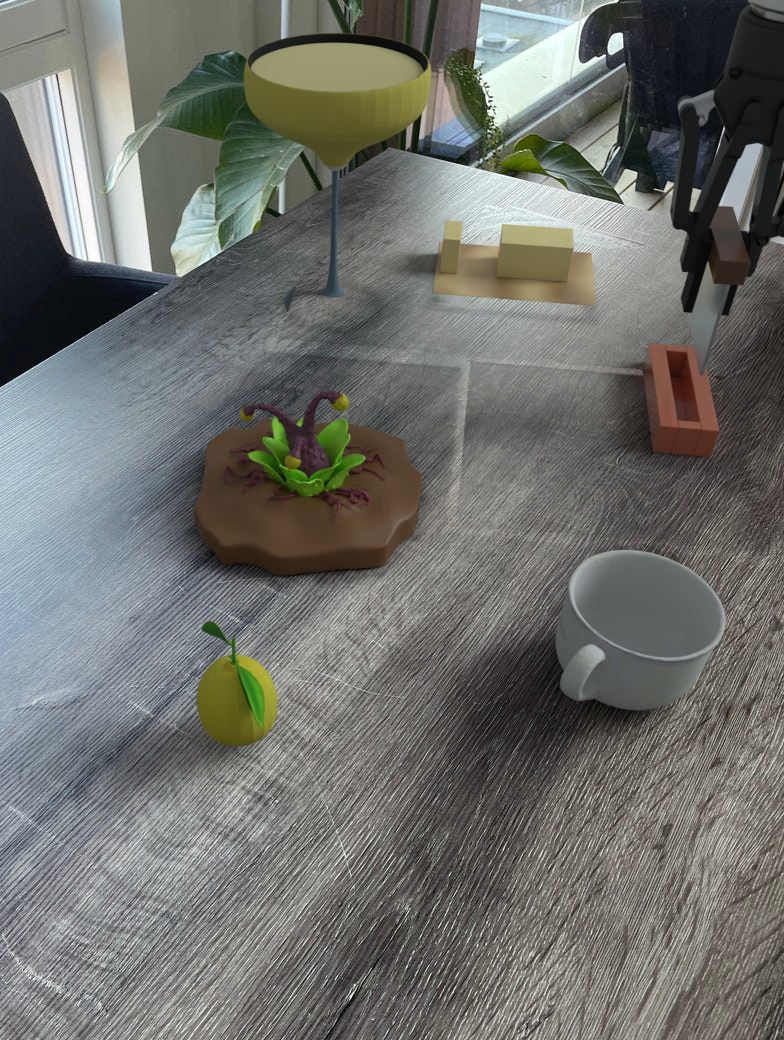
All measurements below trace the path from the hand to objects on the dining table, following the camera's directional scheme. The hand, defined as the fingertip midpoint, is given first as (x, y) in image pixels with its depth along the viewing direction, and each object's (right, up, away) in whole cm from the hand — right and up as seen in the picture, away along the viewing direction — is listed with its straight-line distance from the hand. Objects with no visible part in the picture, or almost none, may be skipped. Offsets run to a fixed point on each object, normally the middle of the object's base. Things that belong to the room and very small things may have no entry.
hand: (704, 306), depth 93 cm
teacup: (-14, -33, -16) cm, 40 cm away
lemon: (-41, -37, -20) cm, 58 cm away
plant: (-35, -18, -1) cm, 40 cm away
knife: (0, -3, +3) cm, 4 cm away
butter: (-10, +13, +27) cm, 31 cm away
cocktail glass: (-33, +8, +24) cm, 41 cm away
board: (-12, +11, +27) cm, 32 cm away
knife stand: (0, -8, +8) cm, 12 cm away
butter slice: (-19, +14, +28) cm, 36 cm away
